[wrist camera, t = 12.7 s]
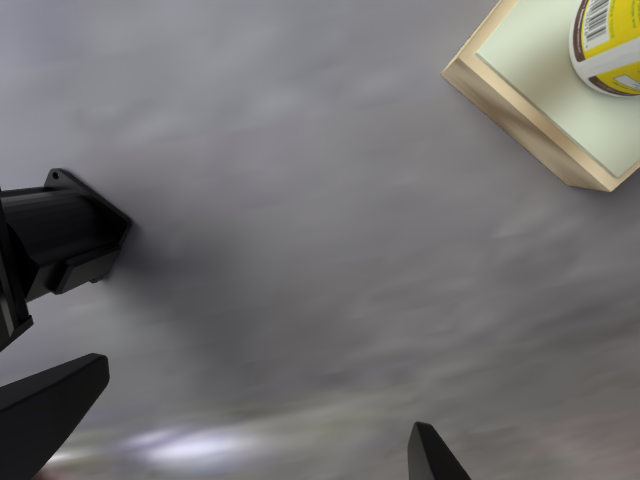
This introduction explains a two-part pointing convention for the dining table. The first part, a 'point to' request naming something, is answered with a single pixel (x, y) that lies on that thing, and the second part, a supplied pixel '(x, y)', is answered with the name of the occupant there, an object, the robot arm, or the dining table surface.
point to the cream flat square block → (547, 94)
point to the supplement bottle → (607, 45)
